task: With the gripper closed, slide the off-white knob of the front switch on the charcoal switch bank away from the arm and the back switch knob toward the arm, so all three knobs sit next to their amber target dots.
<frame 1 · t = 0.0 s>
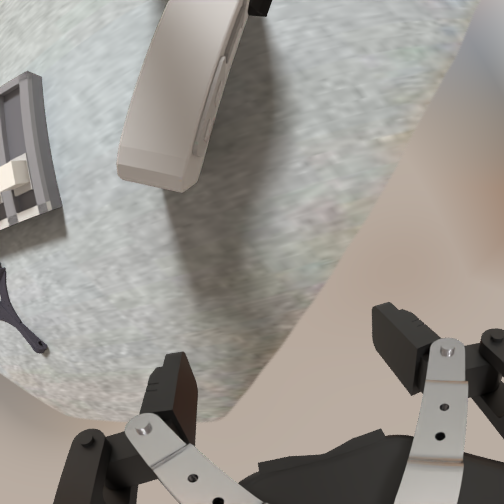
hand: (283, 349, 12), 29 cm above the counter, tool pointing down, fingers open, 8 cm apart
bracket: (17, 317, 42), on the counter
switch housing: (2, 161, 34), on the counter
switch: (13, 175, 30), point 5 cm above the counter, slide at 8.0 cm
grey block: (207, 73, 35), on the counter
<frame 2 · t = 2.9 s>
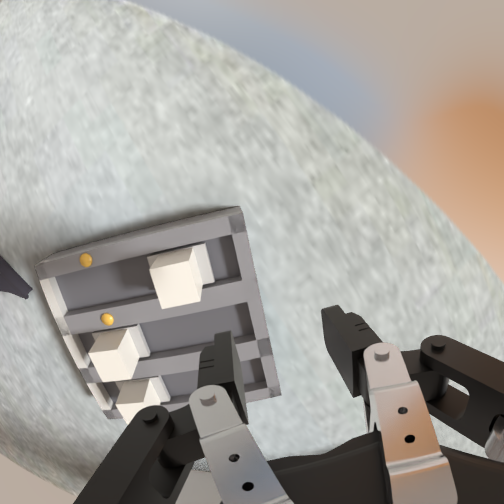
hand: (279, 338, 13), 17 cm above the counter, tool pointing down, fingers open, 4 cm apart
switch middle: (115, 353, 26), point 5 cm above the counter, slide at 8.0 cm
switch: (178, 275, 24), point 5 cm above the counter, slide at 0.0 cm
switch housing: (164, 319, 31), on the counter
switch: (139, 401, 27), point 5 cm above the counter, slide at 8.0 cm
grey block: (248, 482, 41), on the counter
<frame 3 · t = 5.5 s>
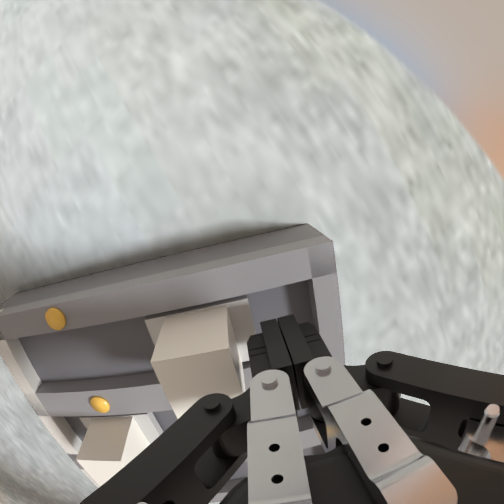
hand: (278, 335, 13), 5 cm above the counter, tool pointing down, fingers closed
switch middle: (118, 450, 15), point 5 cm above the counter, slide at 8.0 cm
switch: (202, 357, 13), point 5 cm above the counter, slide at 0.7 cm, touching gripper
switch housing: (185, 389, 20), on the counter
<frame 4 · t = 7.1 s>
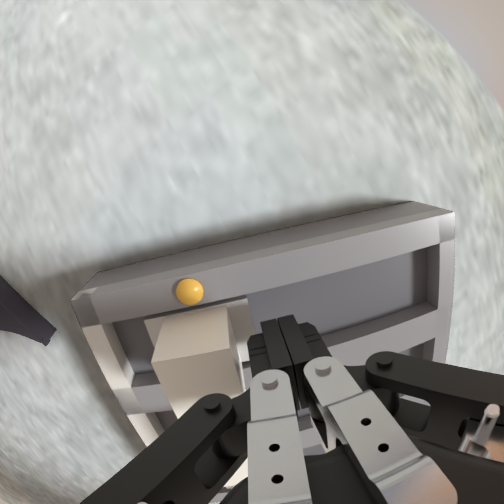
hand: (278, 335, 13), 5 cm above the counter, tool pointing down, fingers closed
switch middle: (236, 439, 15), point 5 cm above the counter, slide at 8.0 cm
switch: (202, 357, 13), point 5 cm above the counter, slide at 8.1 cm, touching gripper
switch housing: (288, 368, 20), on the counter
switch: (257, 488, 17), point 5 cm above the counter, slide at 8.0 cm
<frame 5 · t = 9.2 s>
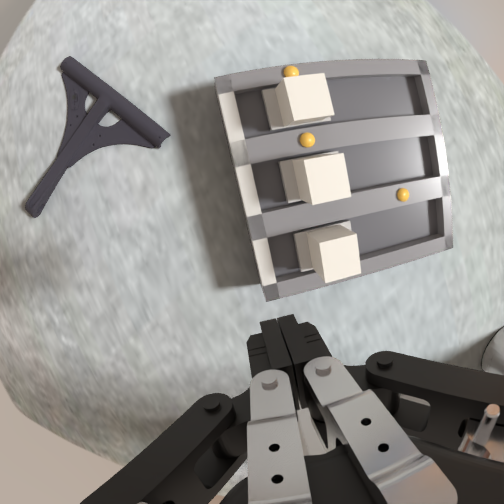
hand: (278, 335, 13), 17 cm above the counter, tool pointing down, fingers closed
switch middle: (319, 177, 23), point 5 cm above the counter, slide at 8.0 cm
bracket: (73, 152, 26), on the counter
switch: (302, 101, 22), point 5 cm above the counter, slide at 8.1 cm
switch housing: (341, 167, 29), on the counter
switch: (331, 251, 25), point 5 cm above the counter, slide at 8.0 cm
grey block: (375, 407, 38), on the counter
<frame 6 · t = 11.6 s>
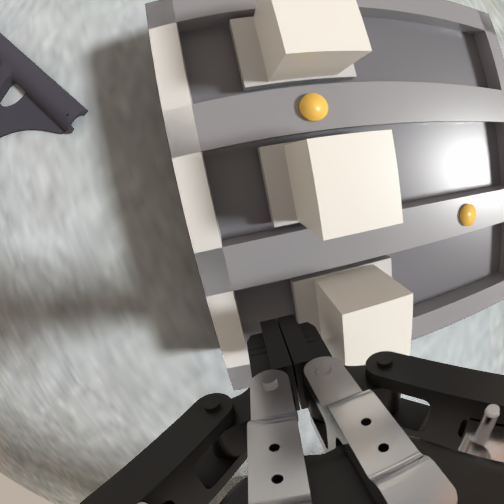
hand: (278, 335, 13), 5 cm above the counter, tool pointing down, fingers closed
switch middle: (336, 179, 11), point 5 cm above the counter, slide at 8.0 cm
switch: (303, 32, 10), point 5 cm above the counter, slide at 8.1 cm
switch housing: (366, 163, 17), on the counter
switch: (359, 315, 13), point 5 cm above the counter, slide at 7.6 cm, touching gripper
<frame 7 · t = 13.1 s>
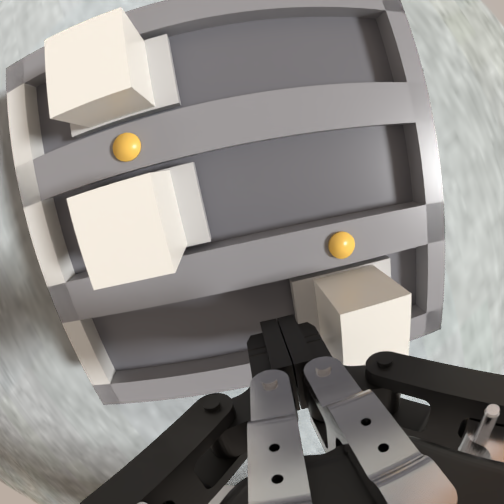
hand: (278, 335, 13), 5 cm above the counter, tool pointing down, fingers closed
switch middle: (135, 222, 11), point 5 cm above the counter, slide at 8.0 cm
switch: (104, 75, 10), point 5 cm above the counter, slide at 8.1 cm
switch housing: (234, 187, 17), on the counter
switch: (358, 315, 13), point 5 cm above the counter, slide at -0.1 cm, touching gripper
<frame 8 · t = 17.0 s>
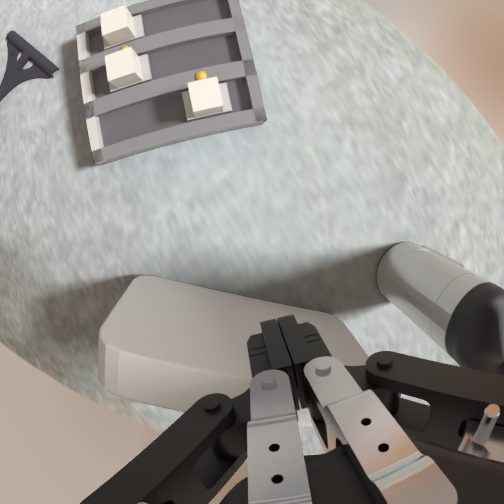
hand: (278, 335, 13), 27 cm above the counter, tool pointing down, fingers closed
switch middle: (124, 69, 28), point 5 cm above the counter, slide at 8.0 cm
bracket: (8, 89, 31), on the counter
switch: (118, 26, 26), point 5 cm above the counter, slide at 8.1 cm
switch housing: (167, 71, 33), on the counter
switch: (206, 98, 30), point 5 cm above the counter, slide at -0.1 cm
grey block: (237, 312, 43), on the counter
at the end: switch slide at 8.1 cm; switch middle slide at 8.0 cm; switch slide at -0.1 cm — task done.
